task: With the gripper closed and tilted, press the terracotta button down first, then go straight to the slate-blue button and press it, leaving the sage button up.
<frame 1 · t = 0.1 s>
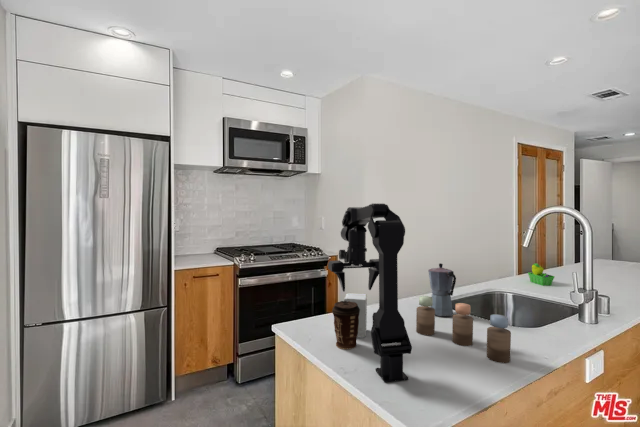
hand: (356, 290, 114), 15 cm above the worktop, tool pointing down, fingers open, 9 cm apart
slate-blue button: (499, 321, 97), point 11 cm above the worktop, slide at 0.0 cm
terracotta button: (462, 308, 108), point 11 cm above the worktop, slide at 0.0 cm
button stands: (459, 343, 107), on the worktop
fruit basket: (539, 284, 186), on the worktop
supplement box: (355, 333, 116), on the worktop
moka pot: (442, 314, 135), on the worktop
coffee cup: (346, 345, 106), on the worktop
sage button: (425, 301, 116), point 11 cm above the worktop, slide at 0.0 cm
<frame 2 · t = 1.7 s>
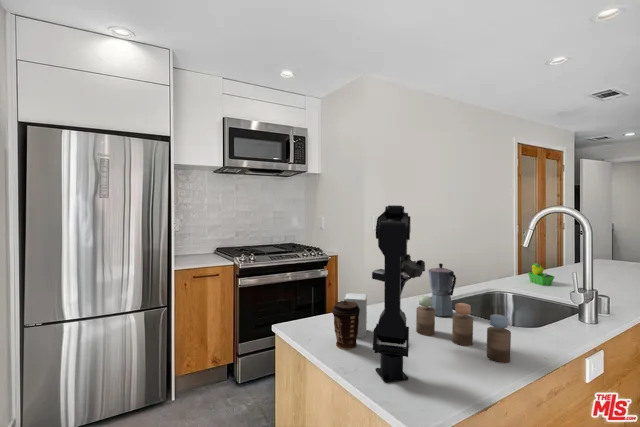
hand: (397, 298, 111), 13 cm above the worktop, tool pointing down, fingers closed
nothing on the worktop moved.
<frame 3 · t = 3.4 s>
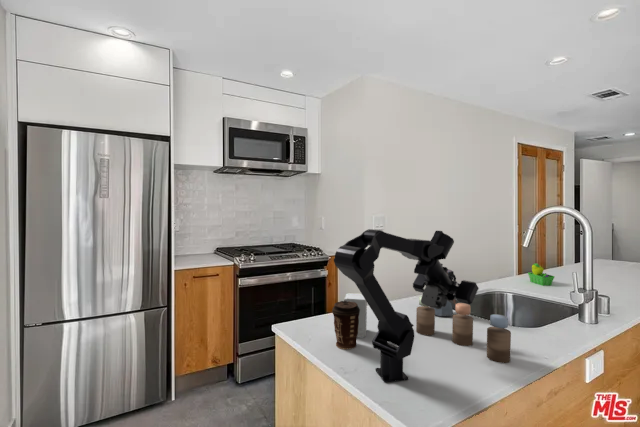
hand: (454, 302, 105), 13 cm above the worktop, tool tilted 45°, fingers closed
nothing on the worktop moved.
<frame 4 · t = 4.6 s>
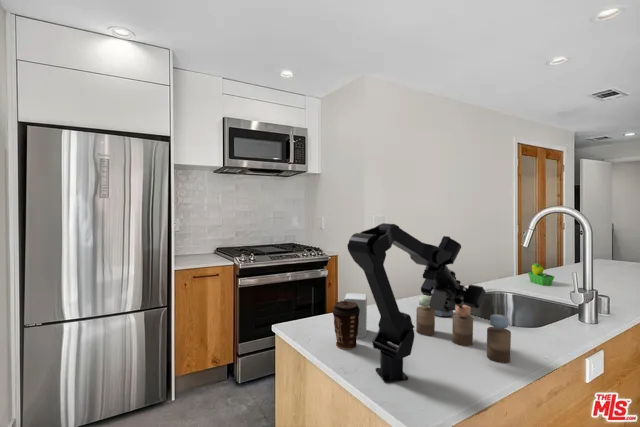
hand: (461, 306, 107), 12 cm above the worktop, tool tilted 45°, fingers closed
terracotta button: (462, 310, 108), point 10 cm above the worktop, slide at 0.5 cm
everything else where it was.
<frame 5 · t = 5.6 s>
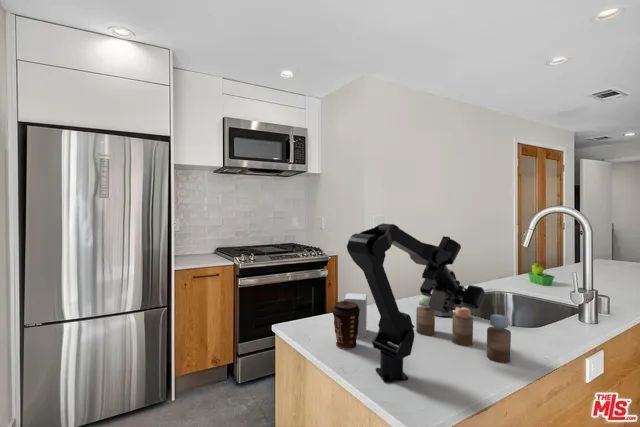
hand: (460, 307, 107), 12 cm above the worktop, tool tilted 45°, fingers closed
terracotta button: (462, 312, 108), point 9 cm above the worktop, slide at 1.3 cm
everything else where it was.
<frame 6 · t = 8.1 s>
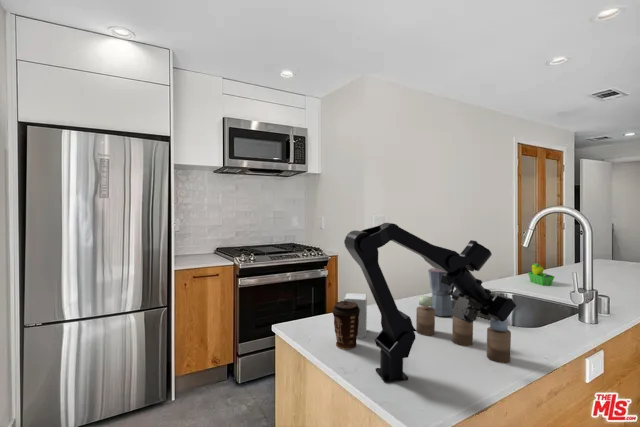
hand: (497, 319, 96), 11 cm above the worktop, tool tilted 45°, fingers closed
slate-blue button: (499, 324, 97), point 10 cm above the worktop, slide at 0.8 cm
everything else where it was.
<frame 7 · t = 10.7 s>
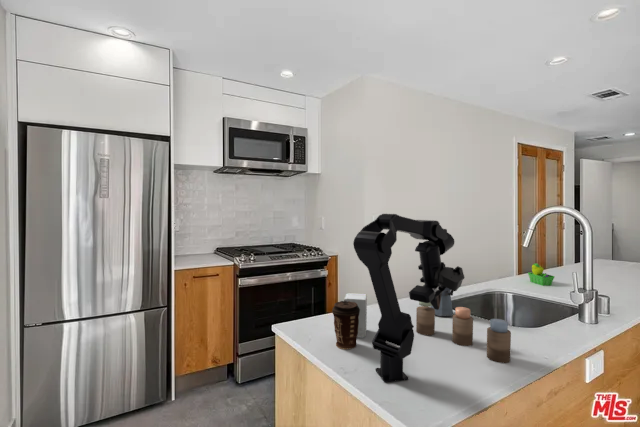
hand: (436, 308, 103), 12 cm above the worktop, tool tilted 15°, fingers closed
slate-blue button: (498, 325, 97), point 9 cm above the worktop, slide at 1.3 cm
everything else where it was.
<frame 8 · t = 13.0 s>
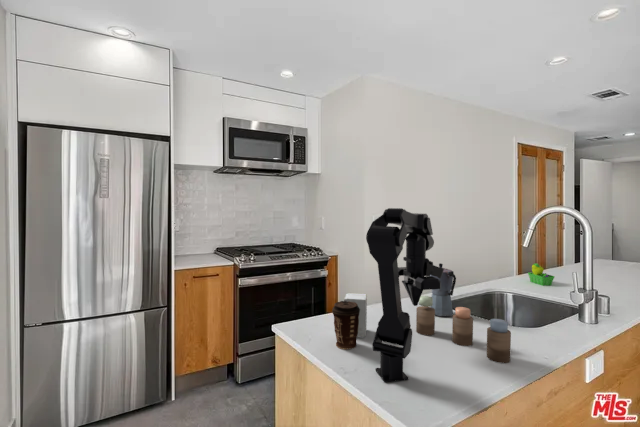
hand: (415, 305, 104), 13 cm above the worktop, tool pointing down, fingers closed
nothing on the worktop moved.
at the end: terracotta button slide at 1.3 cm; slate-blue button slide at 1.3 cm; sage button slide at 0.0 cm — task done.
